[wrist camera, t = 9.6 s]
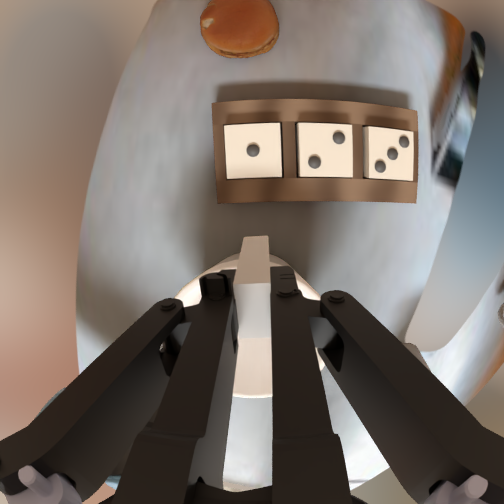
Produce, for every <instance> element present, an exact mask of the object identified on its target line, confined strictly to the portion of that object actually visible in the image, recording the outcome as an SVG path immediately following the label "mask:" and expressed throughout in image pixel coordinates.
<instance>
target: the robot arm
mask: <svg viewBox="0 0 504 504" xmlns="http://www.w3.org/2000/svg"><path fill="white" fill-rule="evenodd" d="M199 284H200V290H201V296H202V297H201V300H200V302H199V304H196V305H192V306H187V307H184V305H183V302H182V301H181V300H179V299H176V298H168V299H164V300H162V301H159V302H157V303H156V304H155V305H154V306H152V307H151V308H150V309H149V310H148V311H147V312H146V313H145V314H144V315H143V316H141V317H140V318H139V319H138V320H137V321H136V322H135V323H134V324H133V325H132V326H131V327H130V328H128V329H127V330H126V331H125V332H124V333H123V334H122V335H121V336H120V337H119V338H118V339H117V340H116V341H114V342H113V343H112V344H111V345H110V346H109V347H108V348H107V349H106V350H105V351H104V352H103V353H102V354H101V355H100V356H99V357H97V358H96V359H95V360H94V361H93V362H92V363H91V364H90V365H89V366H88V367H87V368H86V369H85V370H84V371H83V372H82V373H81V374H80V375H79V376H78V377H77V378H76V379H75V380H73V382H71V383H70V384H69V385H68V386H67V387H66V388H63V389H61V390H60V391H59V392H58V393H57V394H55V395H54V396H53V397H52V398H51V399H50V400H49V401H48V403H47V404H46V405H45V406H44V407H43V408H42V409H41V412H39V414H38V415H37V416H36V417H35V419H34V420H33V421H32V422H31V423H30V424H29V425H28V426H27V427H26V428H24V429H22V430H20V431H18V432H16V433H15V434H12V435H11V436H9V437H7V438H5V439H3V440H1V441H0V491H1V492H3V493H4V495H5V496H6V498H7V501H8V503H9V504H82V502H84V501H85V500H87V499H88V498H90V496H92V495H93V494H94V493H95V492H96V491H97V490H98V489H99V488H100V487H101V486H102V484H103V483H104V482H105V483H106V484H107V485H108V486H111V487H112V488H114V489H116V492H115V494H114V495H112V496H111V497H109V498H107V499H106V500H104V501H102V502H100V503H99V504H367V503H366V502H364V501H363V500H361V499H359V498H357V497H355V496H353V495H351V493H350V487H349V481H348V476H347V470H346V465H345V459H344V454H343V449H342V444H341V441H340V437H339V436H338V434H334V432H333V430H332V425H331V420H330V415H329V410H328V405H327V400H326V395H325V390H324V385H323V381H322V376H321V371H320V367H319V362H318V358H317V353H316V349H315V348H317V351H318V354H319V355H320V357H321V359H322V360H323V362H324V363H325V365H326V366H327V368H328V370H329V371H330V373H331V374H332V376H333V377H334V379H335V381H336V382H337V384H338V385H339V387H340V389H341V390H342V392H343V393H344V395H345V396H346V398H347V400H348V401H349V403H350V404H351V406H352V407H353V409H354V411H355V412H356V414H357V415H358V417H359V419H360V420H361V422H362V423H363V425H364V426H365V428H366V430H367V431H368V433H369V434H370V436H371V438H372V439H373V441H374V442H375V444H376V445H377V447H378V449H379V450H380V452H381V453H382V455H383V457H384V458H385V460H386V461H387V463H388V465H389V466H390V468H391V469H392V471H393V472H394V474H395V476H396V477H397V479H398V480H399V482H400V483H401V485H402V486H403V488H404V489H405V490H406V492H407V493H408V494H409V495H410V496H411V497H412V498H413V499H414V500H415V501H416V502H417V503H418V504H504V438H503V437H501V436H499V435H498V434H496V433H494V432H492V431H490V430H488V429H486V428H485V427H483V426H482V425H481V424H480V423H479V422H478V421H477V420H476V418H475V417H474V416H473V415H472V414H471V413H470V412H469V411H468V410H467V409H466V408H465V407H464V406H463V405H462V403H461V402H460V401H459V400H458V399H457V398H456V397H455V396H454V395H453V394H452V393H451V392H450V391H449V390H448V389H447V388H446V387H445V386H444V385H443V384H442V383H441V382H440V381H439V380H438V379H437V378H436V377H435V376H434V375H433V374H432V373H431V372H430V371H429V370H428V369H427V368H426V367H425V366H424V365H423V364H422V363H421V362H420V361H419V360H418V359H417V358H416V357H415V356H414V355H413V354H412V353H411V352H410V351H409V350H408V349H407V348H406V347H405V346H404V345H403V344H402V343H401V342H400V341H399V340H398V339H397V338H396V337H395V336H394V335H393V334H392V333H391V332H390V331H389V330H388V329H387V328H386V327H385V326H383V325H382V324H381V323H380V322H379V321H378V320H377V319H376V318H375V317H374V316H373V315H372V314H371V313H370V312H369V311H368V310H367V309H365V308H364V307H363V306H362V305H361V304H360V303H359V302H358V301H357V300H356V299H355V298H354V297H353V296H351V295H350V294H348V293H347V292H343V291H340V290H334V291H328V292H325V293H324V294H322V295H321V298H320V300H313V299H308V298H305V297H304V296H303V294H302V292H301V290H300V289H298V285H297V281H296V277H295V273H294V269H293V268H291V267H290V266H273V267H270V261H269V242H268V236H252V237H244V239H243V243H242V247H241V252H240V256H239V260H238V265H237V269H226V270H221V271H220V272H213V273H208V274H205V275H203V276H201V277H200V278H199ZM238 333H239V339H246V338H271V351H272V411H273V440H272V486H267V487H263V488H258V489H253V490H248V491H242V492H230V491H226V490H223V469H224V460H225V452H226V444H227V436H228V428H229V420H230V411H231V403H232V395H233V387H234V379H235V371H236V363H237V355H238V347H239V344H238ZM161 344H163V348H162V349H161V350H159V349H160V346H161Z"/></svg>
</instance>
